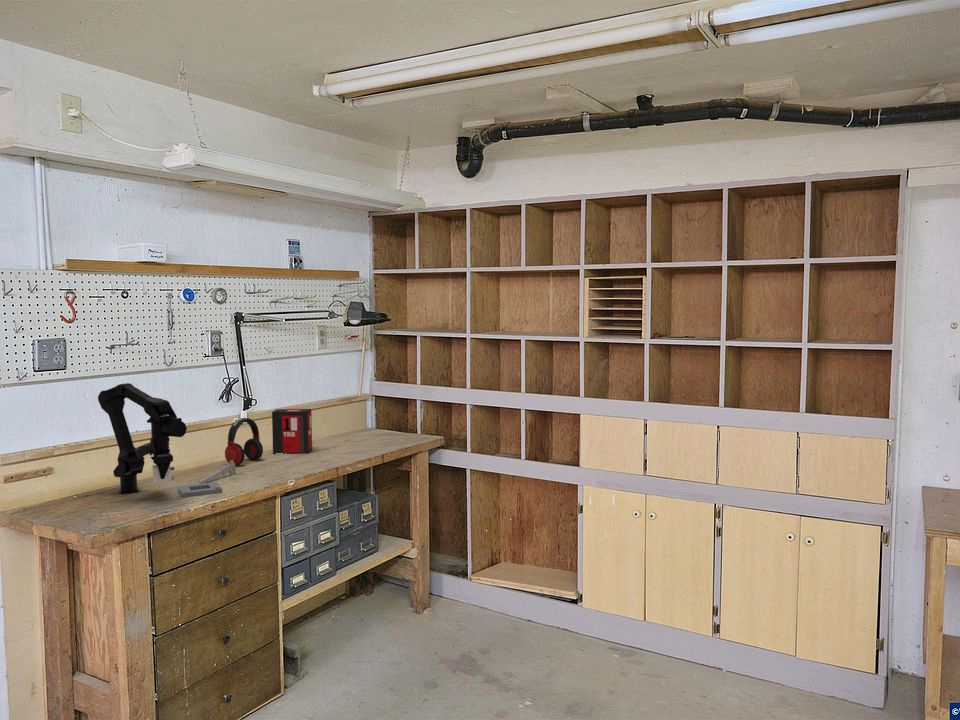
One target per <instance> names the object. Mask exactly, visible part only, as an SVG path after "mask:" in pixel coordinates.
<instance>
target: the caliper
mask: <svg viewBox="0 0 960 720" xmlns="http://www.w3.org/2000/svg"><path fill="white" fill-rule="evenodd" d="M236 468H237V466H235V462H233V460H231V462H230V461H229V463H228V464H227V465H225V466H223V467H221V468H220V469H219V470H217V471H216V472H214V473H212V474H210V475H208V476H206V477H205V478H203V479H201V480H199V482H198V483H197V484H203V483H209V481H211V480H213V479H215V478H217V477H218V476H221V475H226V474H229V476H233V475H236V474H237V469H236Z"/></svg>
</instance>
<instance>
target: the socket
mask: <svg viewBox="0 0 960 720" xmlns="http://www.w3.org/2000/svg"><path fill="white" fill-rule="evenodd" d="M177 492H178V493H179V496H180V497H181V498H183V499H184V498H189V497H199V496H204V495H205V494H207V495H214V493H215V494H223V488H222V487H221V485H220V484H219V483H218V482H217V481H211V482H206V483H203V484H198V483H195V484H187V485H179V486H177ZM198 495H199V496H198Z"/></svg>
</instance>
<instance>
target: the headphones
mask: <svg viewBox="0 0 960 720" xmlns="http://www.w3.org/2000/svg"><path fill="white" fill-rule="evenodd" d="M244 423H247V424H248V426H249V428H250V429H251V433H252V438H248V439H247V440H246V441H245V442H244V445H243V446H241V444H239V443H236V442H235V439H236V434H237V432H238V429H239V428H240V426H242V425H243V424H244ZM227 434H228V435H227V446H226V448H225V449H224V458H225V460H226V461H227V463H228V464H229V461H230V462H231V460H233V462H235V466H236V467H238V466H240V465H241V464H243V462H244V461H245V457H246V458H247V459H248V460H250V461H258V460H259V459H261V457H262V456H263V453H264V448H263V447H264V446H263V445H262V442H261V441H260V432H259V427H258V425H257V423H256V422H255V421H254V420H253V419H251V418H249V417H240V418H238V419H235V421H234V422H233V423H232V424H231V426H230V427H229V430H228V433H227Z"/></svg>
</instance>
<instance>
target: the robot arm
mask: <svg viewBox="0 0 960 720" xmlns="http://www.w3.org/2000/svg"><path fill="white" fill-rule="evenodd" d="M125 399H128V400H130V401H131V402H133V403H134V404H137V405H139V406H140V407H141V408H143V410H144V411H143V412H144V413H145V414H146V415H148V416H149V418H148V419H147V420H146V423H147V424H150V428H151V429H150V431H151V434H150V435H151V438H150V439H149V442H147V443H144V444H141V445H140V446H139V445H138V447H135V445H134V442H133V439H132V436H131V432H130V430H129V426H128V423H127V420H126V416H125V413H124V407H125V405H126V404H125V403H126V401H125ZM97 401H98V403H99V405H100V407H101V409H102V410H103V411H104V412H105V413H106V414H107V415H108V417H109V421H110V423H111V427H112V430H113V433H114V436H115V440H116V444H117V446H118V450H119V453H118V455H117V456H118V457H117V463H118V464H117V466H115V468H114V469H113V476H114V478H119V484H120V487H119V489H118V492H119V494H120V495H121V494H127V493H129V494H131V493H137V492H140V489H139V487H138V474H139V475H140V474H142V473H143V470H144V466H145V459H146V458H145V456H147V455H149V456H150V459H151V460H152V462H153V465H157V466H158V469H159V473H160V478H161V479H164V478H165V475H166V473H167V471H168V468H169V466H170V467H171V464H172V462H174V456H173V454H172V453H171V449H170V440H171V439H170V437H172V438H183V437H184V436H185V434H186V433H187V429H188V428H187V425H186V423H185V422H184V421H183V420H182V417H178V416H177V414H176V412H175V411H174V409H173V407H172V405H171V403H170V402H169V400H166V399H163V398H159V397H153V396H151V395H149V394H147V393H146V392H144V391H142V390H141V389H139V388H137V387H136V386H134V385H133V384H132V383H130V382H129V383H128V382H127V383H121V384H118V385H116V386H114V387H111V388H109V389H106V390H101V391H99V394H98V396H97Z"/></svg>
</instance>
